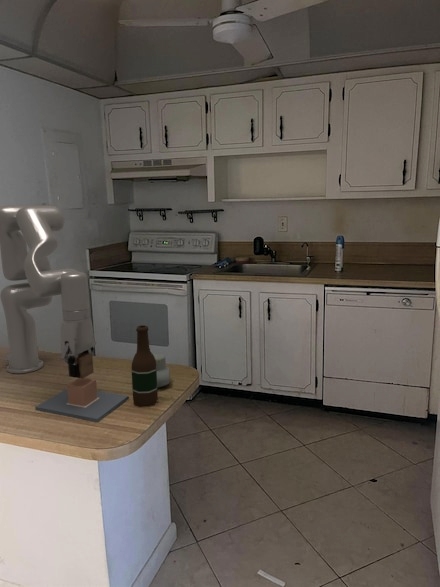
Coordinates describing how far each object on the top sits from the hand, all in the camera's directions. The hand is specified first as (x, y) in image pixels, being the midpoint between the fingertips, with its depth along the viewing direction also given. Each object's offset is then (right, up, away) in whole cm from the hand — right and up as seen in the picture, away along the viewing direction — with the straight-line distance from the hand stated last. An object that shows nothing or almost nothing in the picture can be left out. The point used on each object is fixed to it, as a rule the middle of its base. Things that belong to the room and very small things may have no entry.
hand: (81, 372), depth 132 cm
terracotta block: (0, -9, +2) cm, 9 cm away
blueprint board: (0, -10, +2) cm, 10 cm away
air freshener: (+21, -7, +17) cm, 27 cm away
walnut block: (0, 0, 0) cm, 1 cm away
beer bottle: (+19, -10, +4) cm, 21 cm away
